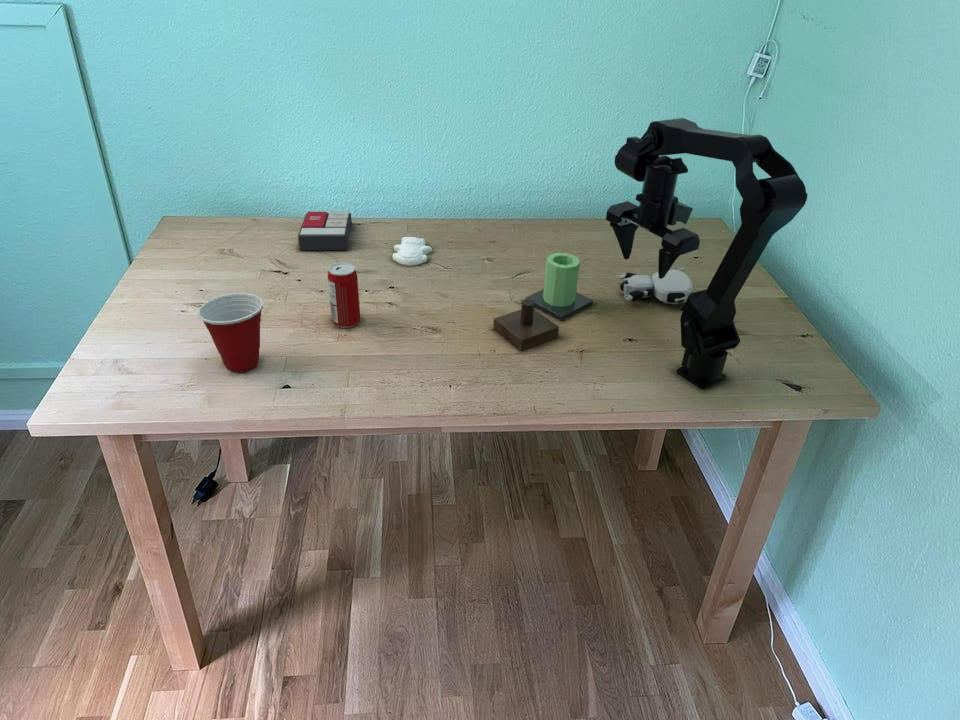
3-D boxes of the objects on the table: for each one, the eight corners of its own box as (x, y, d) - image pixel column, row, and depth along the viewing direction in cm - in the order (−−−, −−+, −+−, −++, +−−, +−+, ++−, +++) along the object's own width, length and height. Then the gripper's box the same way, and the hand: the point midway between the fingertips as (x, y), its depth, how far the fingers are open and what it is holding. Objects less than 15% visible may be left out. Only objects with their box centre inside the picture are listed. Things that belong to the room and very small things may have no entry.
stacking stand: (558, 337, 137) (561, 306, 133) (521, 351, 133) (523, 319, 129) (529, 316, 143) (532, 286, 139) (493, 329, 139) (494, 298, 135)
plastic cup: (248, 339, 133) (238, 283, 126) (285, 361, 127) (276, 304, 120) (197, 364, 126) (183, 306, 119) (233, 389, 120) (221, 329, 113)
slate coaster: (592, 304, 148) (593, 300, 147) (561, 321, 142) (561, 316, 141) (556, 286, 154) (557, 282, 153) (525, 301, 148) (525, 297, 147)
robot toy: (622, 312, 147) (695, 312, 146) (624, 293, 144) (698, 292, 144) (615, 284, 157) (684, 283, 156) (617, 266, 155) (687, 265, 154)
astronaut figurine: (435, 244, 168) (435, 233, 167) (424, 267, 159) (423, 255, 157) (399, 241, 169) (399, 229, 168) (386, 263, 160) (385, 251, 158)
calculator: (351, 210, 174) (346, 232, 162) (352, 226, 177) (347, 250, 164) (305, 209, 173) (297, 232, 161) (307, 226, 176) (299, 250, 163)
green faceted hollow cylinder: (557, 288, 151) (561, 249, 146) (581, 300, 147) (586, 261, 142) (536, 297, 147) (540, 258, 142) (560, 310, 143) (565, 270, 138)
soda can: (366, 320, 140) (362, 265, 133) (347, 332, 136) (342, 276, 129) (345, 311, 142) (341, 257, 135) (326, 322, 138) (320, 268, 131)
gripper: (729, 199, 125) (709, 277, 134) (651, 167, 137) (638, 240, 146) (686, 212, 119) (668, 293, 128) (609, 177, 132) (598, 253, 141)
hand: (643, 268), depth 136 cm, fingers open, 9 cm apart
